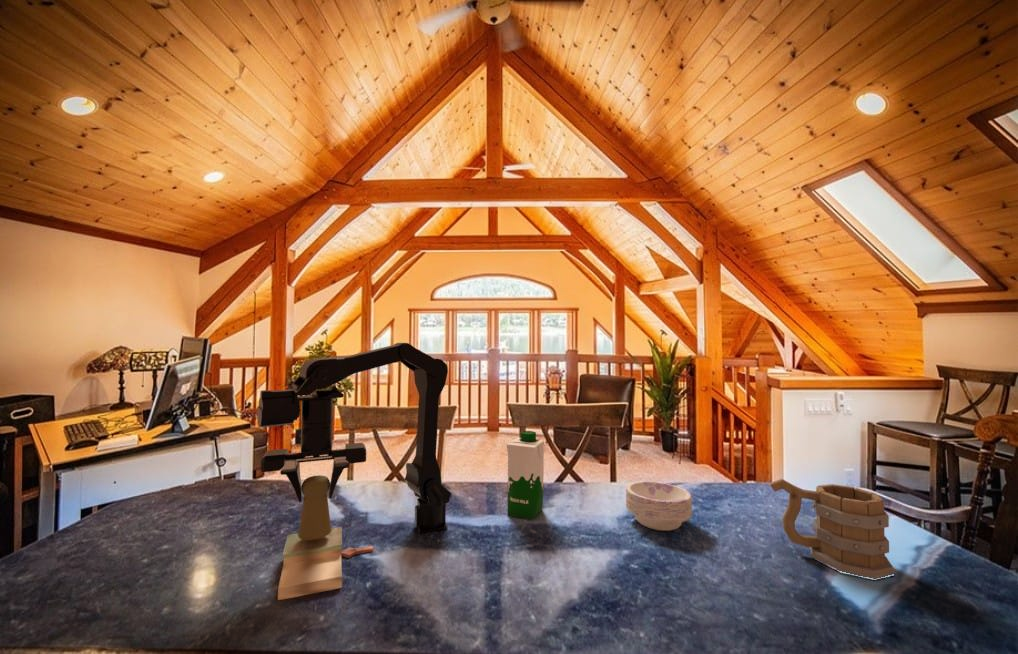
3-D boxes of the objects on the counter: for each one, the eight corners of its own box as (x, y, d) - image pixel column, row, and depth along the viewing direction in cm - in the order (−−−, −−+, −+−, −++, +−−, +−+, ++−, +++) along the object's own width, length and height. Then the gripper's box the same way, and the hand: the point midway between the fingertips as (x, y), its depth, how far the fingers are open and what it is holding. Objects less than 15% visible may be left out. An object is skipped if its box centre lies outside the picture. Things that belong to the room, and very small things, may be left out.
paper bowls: (675, 510, 111) (675, 479, 111) (703, 537, 96) (703, 501, 96) (618, 510, 110) (618, 479, 111) (637, 537, 95) (637, 501, 96)
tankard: (880, 556, 88) (879, 483, 88) (901, 587, 77) (900, 504, 77) (768, 534, 97) (767, 469, 98) (772, 559, 86) (771, 485, 87)
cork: (318, 541, 81) (319, 483, 81) (291, 538, 82) (292, 481, 82) (337, 527, 86) (338, 473, 87) (311, 524, 88) (312, 471, 88)
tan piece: (371, 541, 92) (371, 522, 92) (378, 580, 77) (378, 558, 77) (287, 555, 86) (287, 535, 86) (277, 600, 71) (277, 576, 71)
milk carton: (546, 508, 111) (547, 432, 111) (535, 522, 102) (536, 439, 103) (515, 503, 114) (516, 429, 115) (502, 516, 106) (503, 436, 106)
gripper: (363, 411, 96) (362, 481, 95) (270, 417, 89) (268, 492, 88) (366, 420, 85) (365, 498, 85) (261, 427, 78) (259, 512, 78)
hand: (315, 499), depth 84 cm, fingers closed on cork, 5 cm apart
